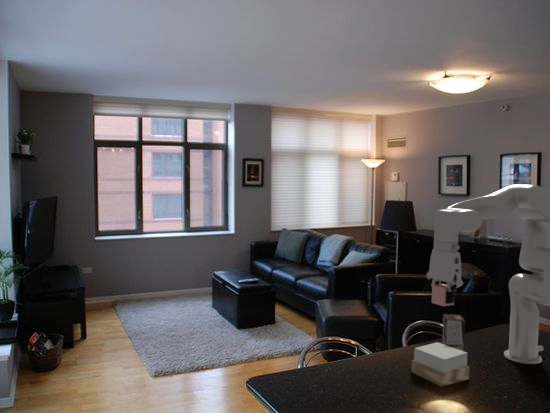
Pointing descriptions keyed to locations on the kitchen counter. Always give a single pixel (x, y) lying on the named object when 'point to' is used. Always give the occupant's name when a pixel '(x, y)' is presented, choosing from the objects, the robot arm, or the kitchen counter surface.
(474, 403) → the kitchen counter surface
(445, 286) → the pink block
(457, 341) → the coffee box
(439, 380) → the tower base
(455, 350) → the tower top
